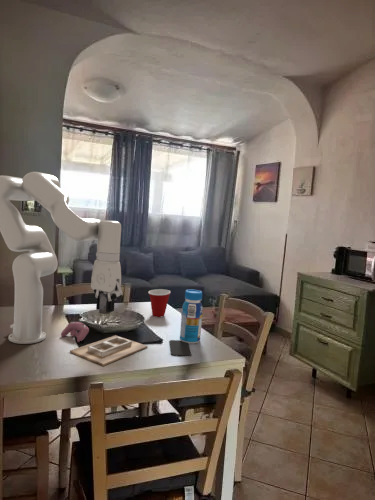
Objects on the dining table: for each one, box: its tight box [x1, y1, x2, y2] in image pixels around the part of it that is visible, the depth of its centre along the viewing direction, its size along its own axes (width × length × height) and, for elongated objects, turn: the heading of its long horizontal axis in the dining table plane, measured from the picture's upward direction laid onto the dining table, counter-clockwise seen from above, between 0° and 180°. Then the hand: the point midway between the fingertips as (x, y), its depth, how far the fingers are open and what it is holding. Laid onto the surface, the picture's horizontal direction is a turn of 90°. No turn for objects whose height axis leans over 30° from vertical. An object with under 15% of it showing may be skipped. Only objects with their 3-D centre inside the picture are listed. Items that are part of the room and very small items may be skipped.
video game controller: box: [60, 321, 90, 343], centre depth 141 cm, size 10×5×7 cm, turn 60°
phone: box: [168, 339, 192, 357], centre depth 139 cm, size 7×1×15 cm
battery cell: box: [98, 292, 112, 315], centre depth 127 cm, size 4×4×7 cm
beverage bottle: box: [179, 288, 204, 344], centre depth 147 cm, size 8×8×20 cm
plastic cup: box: [148, 288, 171, 318], centre depth 179 cm, size 11×11×12 cm
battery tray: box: [69, 334, 148, 367], centre depth 132 cm, size 16×22×2 cm
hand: (105, 309), depth 127 cm, fingers closed on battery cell, 4 cm apart
